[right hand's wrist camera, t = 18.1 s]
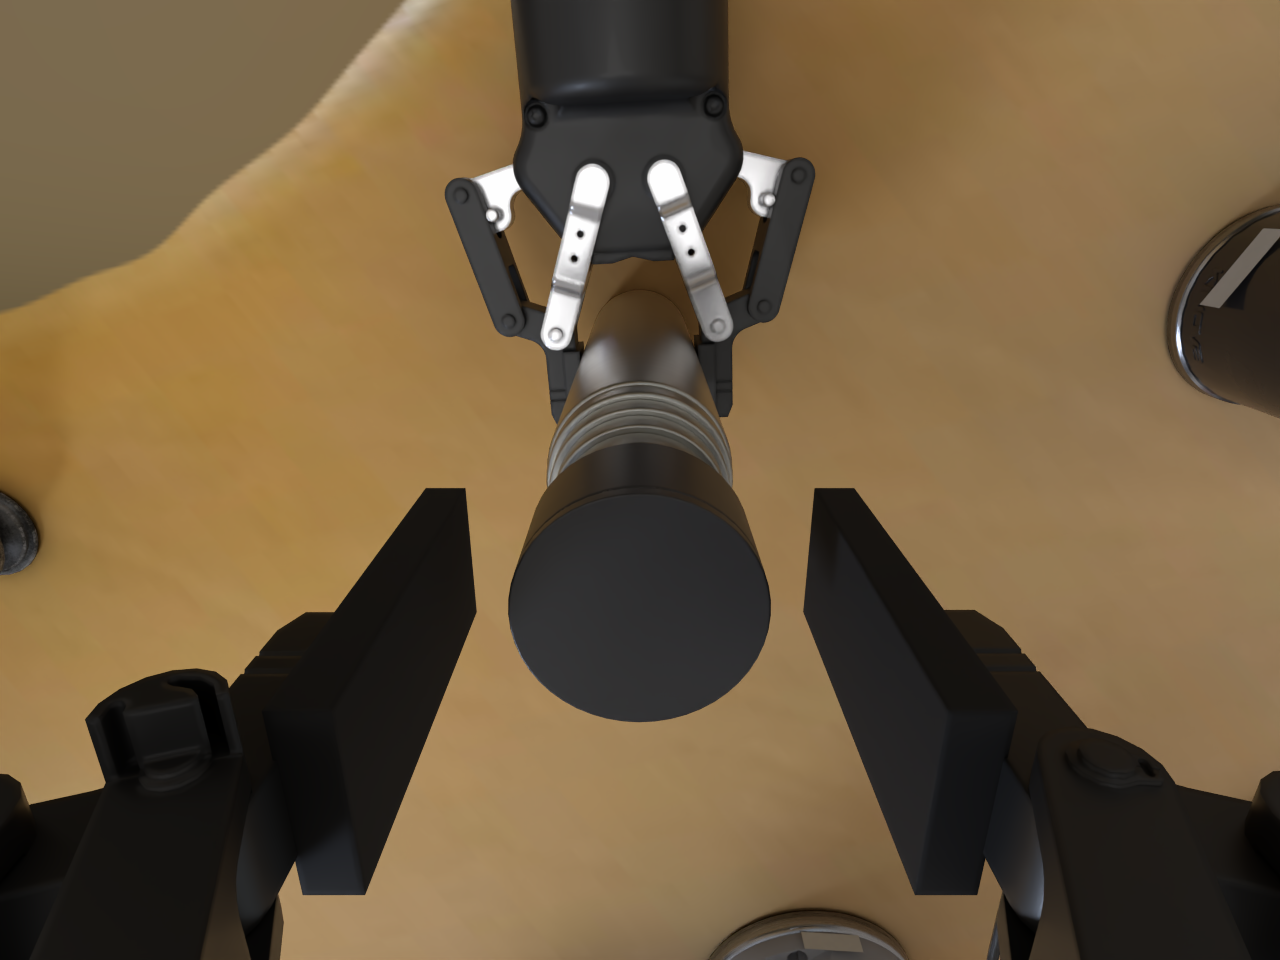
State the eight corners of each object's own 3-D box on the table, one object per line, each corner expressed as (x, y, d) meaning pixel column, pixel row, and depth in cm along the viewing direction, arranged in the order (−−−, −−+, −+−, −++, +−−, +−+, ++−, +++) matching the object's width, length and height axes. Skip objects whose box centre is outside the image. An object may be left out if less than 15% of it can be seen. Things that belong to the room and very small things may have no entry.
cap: (601, 671, 16) (594, 758, 13) (487, 508, 14) (455, 571, 12) (785, 582, 15) (815, 657, 13) (683, 400, 14) (693, 445, 11)
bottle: (585, 296, 36) (477, 491, 12) (681, 283, 35) (765, 456, 12) (600, 390, 37) (531, 725, 14) (692, 378, 37) (784, 697, 13)
